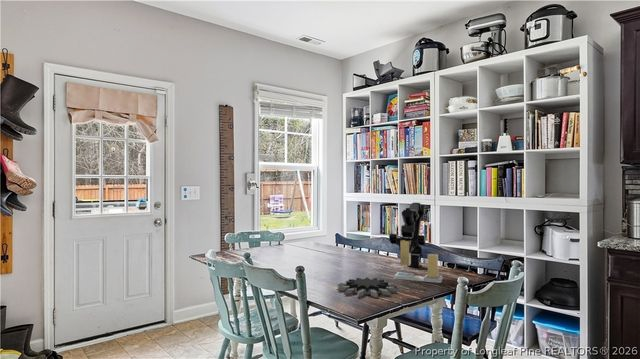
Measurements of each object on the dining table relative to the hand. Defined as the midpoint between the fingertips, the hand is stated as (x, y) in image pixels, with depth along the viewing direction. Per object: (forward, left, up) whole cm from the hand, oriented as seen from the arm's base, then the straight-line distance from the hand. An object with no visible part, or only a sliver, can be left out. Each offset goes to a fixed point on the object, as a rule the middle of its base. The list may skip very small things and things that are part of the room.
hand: (405, 252), depth 205 cm
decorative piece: (+33, -3, -13) cm, 36 cm away
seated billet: (0, +15, -12) cm, 19 cm away
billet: (-1, 0, -7) cm, 7 cm away
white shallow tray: (+2, +8, -13) cm, 15 cm away
